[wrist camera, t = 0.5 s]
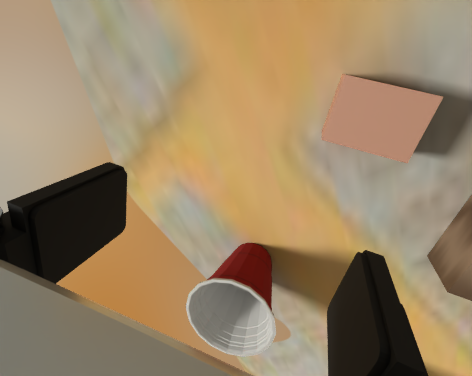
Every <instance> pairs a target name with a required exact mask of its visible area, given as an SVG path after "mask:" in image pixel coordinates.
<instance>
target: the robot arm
mask: <svg viewBox="0 0 472 376" xmlns="http://www.w3.org/2000/svg"><path fill="white" fill-rule="evenodd" d="M126 195H127V173H126V172H125V170H124V168H123V167H122V166H119V165H116V164H113V163H110V162H109V163H105V164H103V165H100V166H97V167H95V168H92V169H90V170H87V171H84V172H82V173H79V174H77V175H74V176H72V177H69V178H67V179H64V180H61V181H59V182H56V183H54V184H51V185H49V186H46V187H44V188H41V189H39V190H36V191H33V192H31V193H28V194H26V195H23V196H20V197H18V198H16V199H13V200H10V201H8V202H7V204H8V209H9V211H8V212H6V213H4V214H3V210H2V209H1V207H0V376H253V375H251V374H249V373H246V372H244V371H242V370H240V369H238V368H236V367H234V366H231V365H229V364H227V363H225V362H223V361H221V360H219V359H217V358H214V357H212V356H210V355H208V354H206V353H204V352H202V351H200V350H197V349H195V348H193V347H191V346H189V345H187V344H185V343H182V342H180V341H178V340H176V339H174V338H172V337H169V336H167V335H165V334H163V333H161V332H159V331H157V330H154V329H152V328H150V327H148V326H146V325H144V324H141V323H139V322H137V321H135V320H133V319H131V318H128V317H126V316H124V315H122V314H120V313H118V312H116V311H113V310H111V309H109V308H107V307H105V306H102V305H100V304H98V303H96V302H94V301H91V300H89V299H87V298H85V297H83V296H81V295H78V294H76V293H74V292H72V291H70V290H67V289H65V288H63V287H61V286H59V285H56V283H57V282H58V281H59V280H61V279H62V278H64V277H65V276H66V275H67V274H69V273H70V272H71V271H73V270H74V269H75V268H77V267H78V266H79V265H80V264H82V263H83V262H84V261H86V260H87V259H88V258H90V257H91V256H92V255H93V254H95V253H96V252H97V251H99V250H100V249H101V248H103V247H104V246H105V245H106V244H108V243H109V242H110V241H112V240H113V239H114V238H116V237H117V236H118V235H119V234H121V233H122V232H123V230H124V229H125V226H126ZM327 332H328V376H428V374H427V371H426V368H425V365H424V362H423V360H422V357H421V354H420V351H419V348H418V346H417V343H416V340H415V337H414V334H413V332H412V329H411V326H410V323H409V320H408V318H407V315H406V312H405V309H404V307H403V305H402V304H401V303H400V301H399V298H398V296H397V293H396V290H395V287H394V284H393V281H392V278H391V275H390V273H389V270H388V267H387V264H386V261H385V258H384V256H382V255H379V254H376V253H373V252H370V251H367V250H365V251H364V252H363V253H360V252H358V253H357V254H356V255H355V257H354V259H353V261H352V263H351V265H350V266H349V268H348V270H347V272H346V274H345V276H344V278H343V280H342V282H341V283H340V285H339V287H338V289H337V291H336V293H335V295H334V297H333V298H332V300H331V302H330V304H329V307H328V311H327Z"/></svg>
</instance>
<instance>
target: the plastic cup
mask: <svg viewBox="0 0 472 376" xmlns="http://www.w3.org/2000/svg"><path fill="white" fill-rule="evenodd" d="M271 271H272V264H271V258H270V255H269V253H268V252H267V250H265V249H264V248H263V247H262V246H260V245H257V244H255V243H245V244H242V245H240V246H239V247H238V248H237V249H236V250H235V251H234V252H233V253H232V254H231V255H230V256H229V257H228V258H227V259H226V260H225V262H224V263H223V264H222V265H221V266H220V267H219V268H218V270H217V271H216V272H215V273H214V274H213V275H212V276H211V277H210V278H209V279H207V280H206V281H204V282H200V283H199V284H198V285H197V286H196V287H195V288H194V289H193V290H192V291H191V292H190V293H189V295H188V299H187V304H186V310H187V314H188V318H189V321H190V323H191V325H192V326H193V328H194V329H195V331H196V333H197V334H198V335H199V336H200V337H201V338H202V339H203V340H205V341H206V342H207V343H208V344H209V345H210V346H212V347H214V348H216V349H218V350H220V351H222V352H224V353H226V354H231V355H236V356H242V357H245V356H251V355H257V354H260V353H261V352H263V351H264V350H266V349H267V348H269V347H270V346H271V344H272V341H273V339H274V337H275V335H276V329H275V320H274V314H273V313H272V308H271V296H272V276H271Z"/></svg>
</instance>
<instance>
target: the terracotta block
mask: <svg viewBox="0 0 472 376" xmlns="http://www.w3.org/2000/svg"><path fill="white" fill-rule="evenodd" d="M442 99H443V97H442V96H438V95H433V94H429V93H425V92H420V91H416V90H411V89H407V88H403V87H398V86H394V85H389V84H385V83H381V82H376V81H372V80H367V79H363V78H359V77H354V76H350V75H345V74H342V76H341V79H340V82H339V84H338V87H337V90H336V93H335V96H334V98H333V101H332V104H331V107H330V109H329V112H328V115H327V118H326V121H325V123H324V126H323V129H322V140H325V141H328V142H332V143H336V144H339V145H343V146H347V147H350V148H354V149H357V150H361V151H365V152H368V153H372V154H375V155H379V156H383V157H386V158H390V159H393V160H397V161H401V162H404V163H408V161H409V159H410V158H411V156H412V154H413V152H414V150H415V148H416V147H417V145H418V143H419V141H420V139H421V137H422V136H423V134H424V132H425V130H426V128H427V126H428V125H429V123H430V121H431V119H432V117H433V115H434V114H435V112H436V110H437V108H438V106H439V104H440V103H441V101H442Z"/></svg>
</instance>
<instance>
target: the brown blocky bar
mask: <svg viewBox="0 0 472 376" xmlns="http://www.w3.org/2000/svg"><path fill="white" fill-rule="evenodd" d="M427 256H428V258H429V260H430V262H431V264H432V265H433V267H434V269H435V271H436V272H437V274H438V276H439V278H440V280H441V281H442V283H443V285H444V287H445V289H446V290H447V292H449V293H451V294H454V295H457V296H460V297H463V298H465V299H468V300H471V301H472V195H471V196H470V198H469V199H468V201H467V202H466V203H465V205H464V206H463V207H462V209H461V210H460V212H459V213H458V214H457V216H456V217H455V218H454V220H453V221H452V223H451V224H450V225H449V227H448V228H447V229H446V231H445V232H444V234H443V235H442V236H441V238H440V239H439V240H438V242H437V243H436V244H435V246H434V247H433V249H432V250H431V251H430V253H429V254H428V255H427Z"/></svg>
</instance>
